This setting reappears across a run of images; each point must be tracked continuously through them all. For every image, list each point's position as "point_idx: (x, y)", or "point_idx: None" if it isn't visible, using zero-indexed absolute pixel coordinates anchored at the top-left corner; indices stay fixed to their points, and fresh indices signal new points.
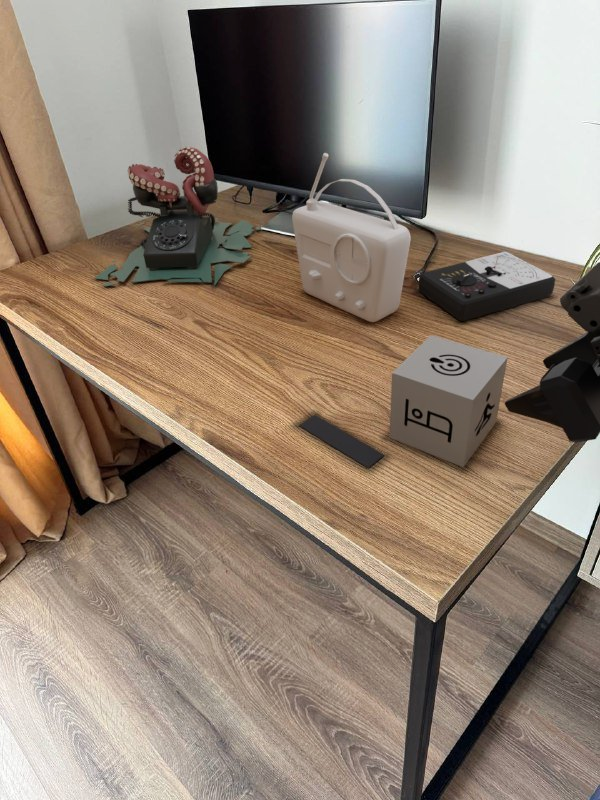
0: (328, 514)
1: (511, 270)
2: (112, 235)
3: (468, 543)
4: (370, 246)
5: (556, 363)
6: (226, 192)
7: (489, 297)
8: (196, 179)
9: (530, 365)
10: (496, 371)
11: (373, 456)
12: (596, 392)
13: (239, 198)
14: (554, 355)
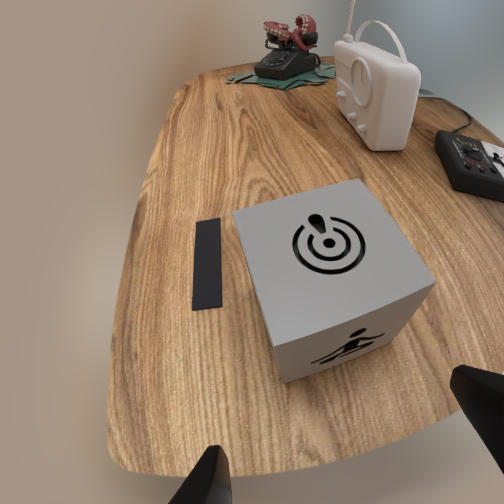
0: (119, 330)
1: None
2: None
3: (180, 463)
4: (372, 70)
5: (467, 399)
6: None
7: (486, 179)
8: (302, 29)
9: (486, 278)
10: (390, 303)
11: (210, 300)
12: None
13: None
14: (476, 385)
